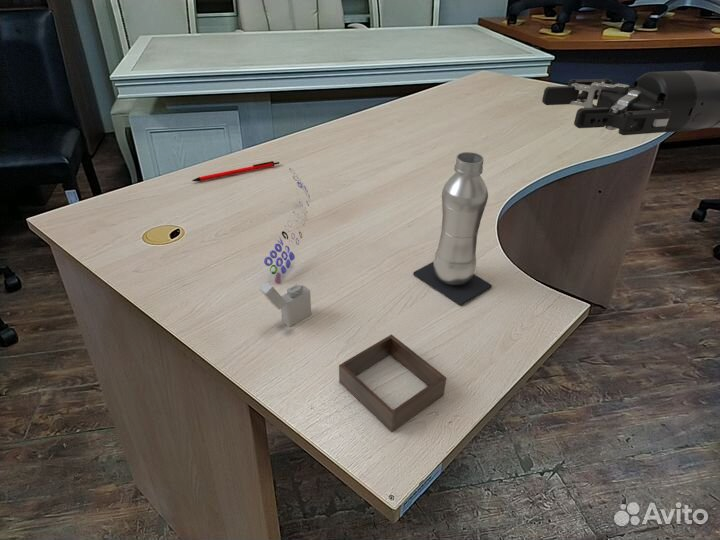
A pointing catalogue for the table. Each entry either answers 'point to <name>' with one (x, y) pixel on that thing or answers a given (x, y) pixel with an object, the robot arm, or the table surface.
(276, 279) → the ring set
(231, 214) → the table surface
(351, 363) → the bottle stand
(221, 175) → the pen
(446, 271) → the silver metal bottle
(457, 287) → the mat
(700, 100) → the robot arm
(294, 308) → the lighter
